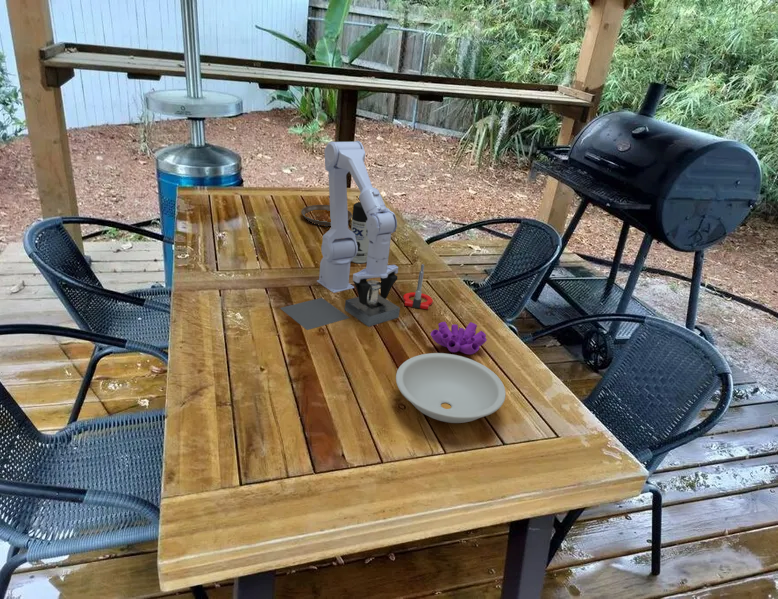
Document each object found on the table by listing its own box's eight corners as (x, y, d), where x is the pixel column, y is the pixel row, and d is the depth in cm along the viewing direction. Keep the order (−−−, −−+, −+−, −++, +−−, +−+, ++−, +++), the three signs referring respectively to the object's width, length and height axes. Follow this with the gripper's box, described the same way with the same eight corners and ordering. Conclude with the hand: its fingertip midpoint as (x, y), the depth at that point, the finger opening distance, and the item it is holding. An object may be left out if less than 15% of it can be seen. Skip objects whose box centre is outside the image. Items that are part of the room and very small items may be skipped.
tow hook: (404, 293, 176) (400, 306, 167) (410, 252, 170) (407, 262, 161) (433, 298, 175) (430, 311, 166) (440, 257, 169) (438, 267, 160)
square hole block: (344, 311, 160) (345, 300, 158) (374, 302, 167) (375, 292, 165) (368, 327, 153) (369, 316, 151) (398, 318, 159) (400, 307, 158)
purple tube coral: (482, 364, 149) (493, 351, 140) (427, 362, 147) (435, 349, 138) (478, 325, 154) (489, 310, 145) (425, 322, 152) (433, 307, 143)
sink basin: (488, 457, 111) (495, 431, 108) (376, 421, 118) (380, 395, 115) (507, 393, 132) (513, 370, 129) (411, 365, 138) (415, 342, 135)
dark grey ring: (349, 231, 221) (350, 223, 219) (297, 225, 220) (297, 217, 219) (353, 215, 239) (353, 207, 238) (305, 210, 238) (305, 202, 237)
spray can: (345, 260, 193) (349, 204, 184) (353, 254, 199) (358, 200, 190) (362, 265, 191) (368, 209, 182) (370, 259, 197) (376, 204, 188)
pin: (360, 313, 159) (363, 282, 155) (371, 310, 162) (374, 279, 158) (369, 319, 157) (373, 287, 153) (380, 316, 159) (384, 284, 155)
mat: (279, 309, 156) (279, 308, 156) (321, 298, 165) (321, 297, 165) (306, 331, 147) (307, 330, 147) (349, 319, 156) (349, 317, 156)
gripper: (366, 265, 144) (361, 311, 150) (407, 256, 153) (401, 300, 159) (349, 255, 149) (345, 301, 155) (391, 247, 158) (385, 290, 164)
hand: (373, 300), depth 157 cm, fingers open, 7 cm apart
